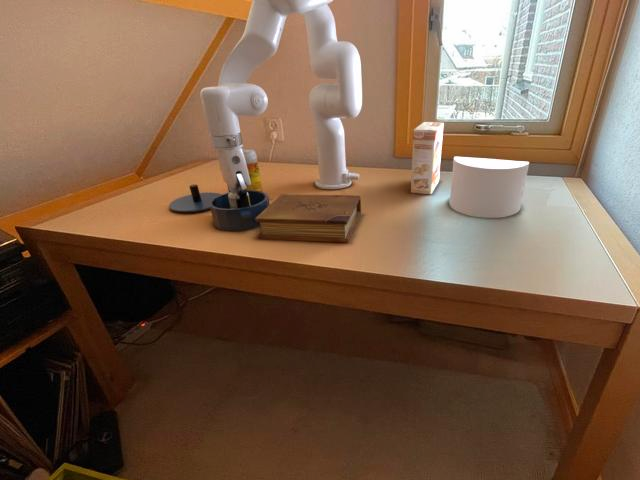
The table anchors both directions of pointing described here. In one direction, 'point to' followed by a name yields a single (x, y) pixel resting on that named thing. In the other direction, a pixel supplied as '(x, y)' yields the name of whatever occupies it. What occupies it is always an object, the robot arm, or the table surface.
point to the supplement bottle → (233, 197)
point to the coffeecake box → (426, 157)
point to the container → (487, 186)
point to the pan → (238, 212)
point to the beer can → (252, 170)
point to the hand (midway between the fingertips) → (240, 208)
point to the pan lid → (193, 201)
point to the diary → (310, 217)
